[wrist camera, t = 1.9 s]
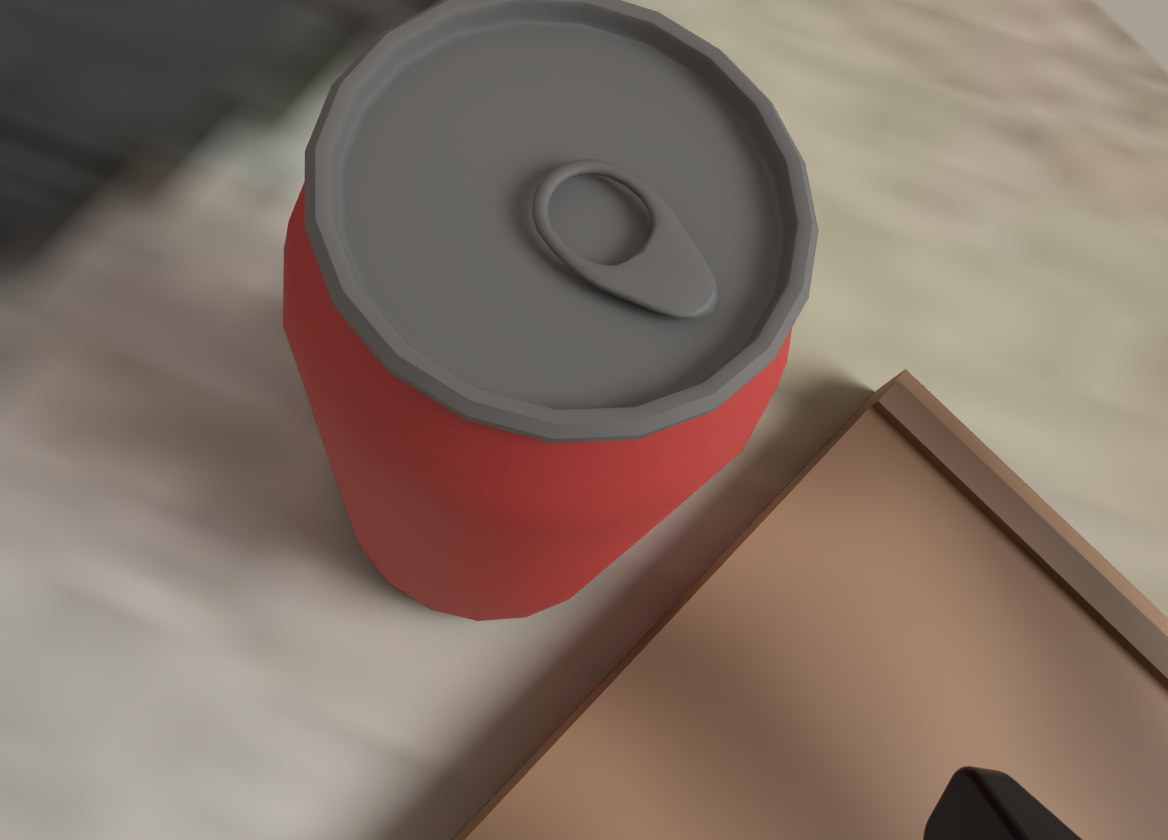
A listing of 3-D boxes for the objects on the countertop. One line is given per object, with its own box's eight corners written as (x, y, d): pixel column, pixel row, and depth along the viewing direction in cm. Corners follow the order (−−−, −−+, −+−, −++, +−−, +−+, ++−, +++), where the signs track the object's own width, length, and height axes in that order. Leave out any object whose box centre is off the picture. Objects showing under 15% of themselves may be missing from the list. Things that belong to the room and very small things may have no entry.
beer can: (503, 688, 19) (620, 634, 8) (280, 489, 20) (95, 178, 9) (683, 470, 22) (968, 193, 10) (479, 297, 22) (539, -144, 11)
